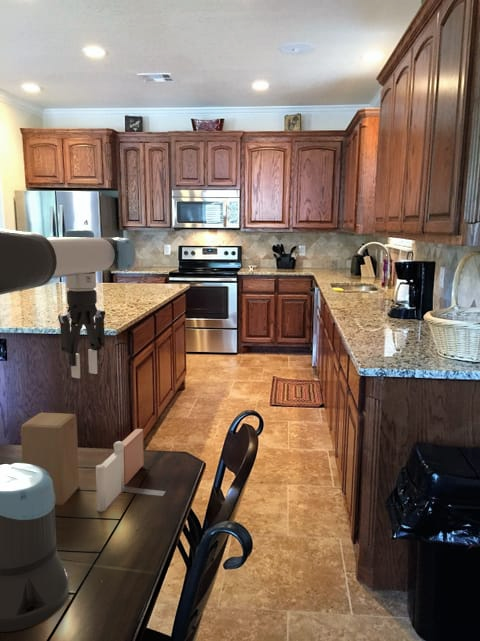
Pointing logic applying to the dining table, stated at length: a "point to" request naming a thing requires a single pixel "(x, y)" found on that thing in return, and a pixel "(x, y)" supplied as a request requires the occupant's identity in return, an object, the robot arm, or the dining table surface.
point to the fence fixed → (110, 477)
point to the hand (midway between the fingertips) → (84, 375)
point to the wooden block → (53, 450)
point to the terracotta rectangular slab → (133, 454)
